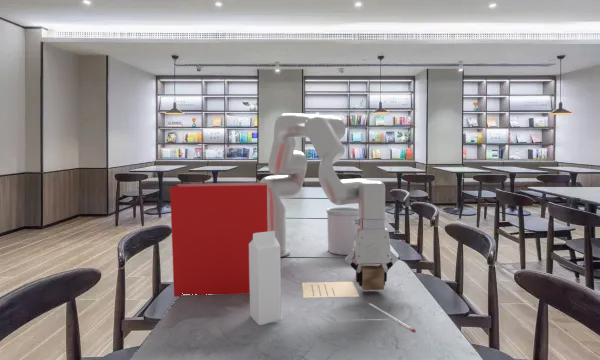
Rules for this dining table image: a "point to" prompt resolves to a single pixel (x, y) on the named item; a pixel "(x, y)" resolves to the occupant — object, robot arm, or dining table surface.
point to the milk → (265, 278)
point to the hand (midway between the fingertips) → (371, 283)
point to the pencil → (394, 318)
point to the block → (372, 277)
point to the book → (215, 235)
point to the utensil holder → (341, 229)
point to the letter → (329, 289)
